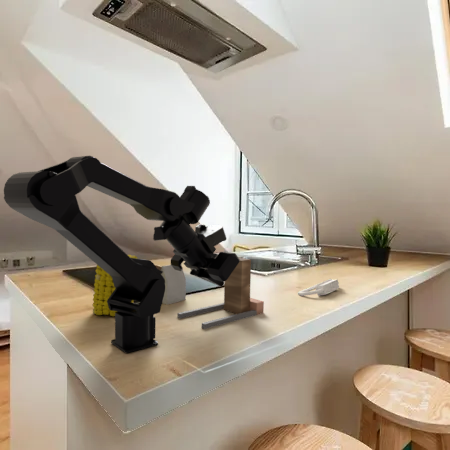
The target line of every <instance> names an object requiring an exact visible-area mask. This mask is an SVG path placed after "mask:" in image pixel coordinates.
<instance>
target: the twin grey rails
mask: <svg viewBox="0 0 450 450" xmlns="http://www.w3.org/2000/svg"><path fill="white" fill-rule="evenodd" d="M264 304H265V303H264V301H263V300H259V299H256V298H252V297H250V311H247V312H243V313H239V314H235V313H234V314H231V315H228V316H223V317H219V318H215V319H212V320H207V321H204V322H201V328H202V329H203V330H206V329H211V328H213V327H218V326H222V325H225V324H228V323H233V322H236V321H240V320H243V319H247V318H251V317H255V316H258V315H263V314H264V307H265V306H264ZM222 309H223V310H224V302H222V303H218V304H212V305H208V306H203V307H198V308H195V309H190V310H185V311H181V312H177V318H178V319H180V320H181V319H185V318H189V317H194V316H197V315H202V314H205V313H210V312H213V311H218V310H222Z"/></svg>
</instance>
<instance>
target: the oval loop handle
mask: <svg viewBox="0 0 450 450" xmlns="http://www.w3.org/2000/svg"><path fill="white" fill-rule="evenodd" d="M339 284H340V283H339V280H338V278H337V279H332V278H329V279H326V280H323V281H322V282H318V283H315V284H313V285H312V286H309V287H308V288H304V289H302V290H299V291H298V292H297V295H298V296H312V295H316V294H317V296H318V297H319V296H325V295H328V294H330V293H332V292H334V291H337V290H338V289H340V285H339ZM314 289H315V290H314Z"/></svg>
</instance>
